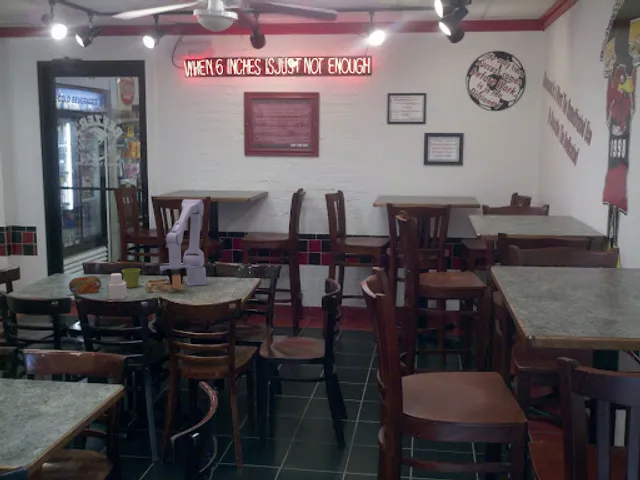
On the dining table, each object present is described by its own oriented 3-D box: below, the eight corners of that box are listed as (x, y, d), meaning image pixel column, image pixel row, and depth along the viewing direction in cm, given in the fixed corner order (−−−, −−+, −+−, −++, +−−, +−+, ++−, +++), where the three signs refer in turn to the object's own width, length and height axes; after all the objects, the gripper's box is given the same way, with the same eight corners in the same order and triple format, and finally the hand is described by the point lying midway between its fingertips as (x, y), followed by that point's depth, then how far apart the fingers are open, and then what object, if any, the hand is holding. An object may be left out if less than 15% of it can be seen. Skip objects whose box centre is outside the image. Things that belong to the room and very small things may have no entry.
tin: (70, 295, 341) (69, 278, 340) (68, 294, 344) (67, 277, 343) (101, 292, 349) (100, 275, 348) (100, 291, 352) (99, 274, 351)
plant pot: (136, 288, 357) (135, 271, 355) (119, 288, 358) (118, 271, 357) (144, 285, 366) (143, 268, 365) (127, 284, 368) (126, 268, 366)
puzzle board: (181, 285, 364) (181, 277, 363) (185, 290, 353) (185, 281, 352) (145, 288, 358) (145, 280, 357) (148, 292, 347) (148, 284, 346)
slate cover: (182, 280, 362) (181, 273, 361) (184, 283, 354) (184, 276, 354) (166, 281, 359) (166, 274, 359) (168, 284, 352) (168, 277, 351)
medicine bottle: (111, 296, 339) (110, 271, 337) (126, 296, 340) (125, 271, 338) (108, 299, 332) (107, 274, 330) (124, 299, 333) (123, 274, 331)
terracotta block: (179, 286, 351) (179, 274, 350) (181, 287, 347) (180, 275, 346) (171, 286, 349) (171, 274, 348) (172, 288, 346) (172, 276, 345)
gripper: (161, 258, 340) (162, 286, 342) (191, 256, 345) (192, 284, 347) (159, 256, 346) (160, 283, 348) (188, 254, 351) (189, 281, 353)
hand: (176, 284), depth 348 cm, fingers closed on terracotta block, 4 cm apart
